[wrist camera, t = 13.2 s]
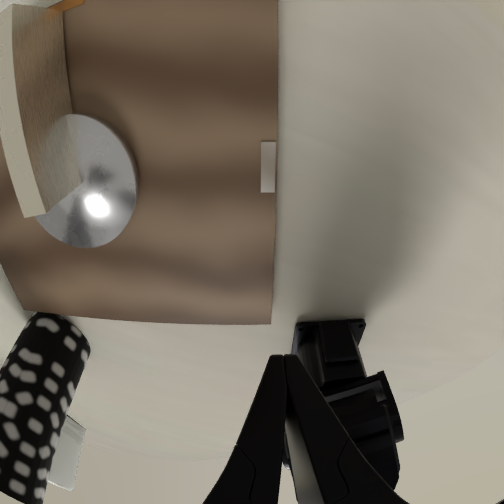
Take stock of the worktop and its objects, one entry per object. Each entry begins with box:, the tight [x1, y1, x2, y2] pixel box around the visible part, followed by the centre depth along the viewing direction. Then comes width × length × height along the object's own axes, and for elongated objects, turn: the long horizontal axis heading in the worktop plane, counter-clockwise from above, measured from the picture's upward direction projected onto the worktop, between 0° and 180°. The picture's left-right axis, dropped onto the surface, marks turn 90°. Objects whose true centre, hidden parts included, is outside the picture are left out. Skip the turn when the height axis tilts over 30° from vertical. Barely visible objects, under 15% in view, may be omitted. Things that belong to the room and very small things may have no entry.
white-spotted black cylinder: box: [0, 311, 90, 504], centre depth 19 cm, size 8×8×20 cm
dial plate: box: [0, 0, 278, 325], centre depth 17 cm, size 25×25×2 cm
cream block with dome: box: [0, 4, 139, 248], centre depth 12 cm, size 16×9×5 cm, turn 5°
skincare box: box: [47, 416, 86, 491], centre depth 37 cm, size 8×7×16 cm
